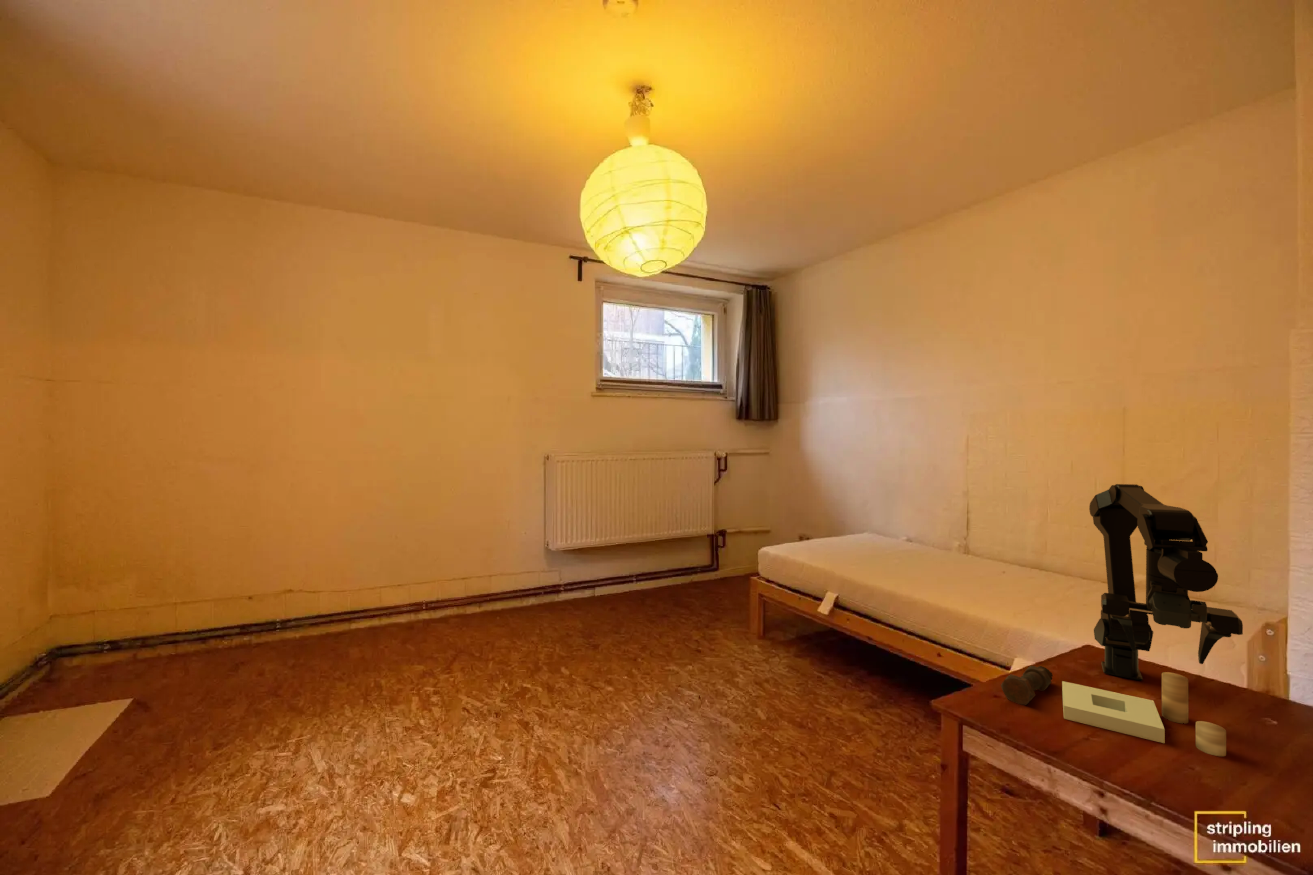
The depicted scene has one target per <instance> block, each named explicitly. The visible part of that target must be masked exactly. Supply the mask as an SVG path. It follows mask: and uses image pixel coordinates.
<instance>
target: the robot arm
mask: <svg viewBox="0 0 1313 875" xmlns="http://www.w3.org/2000/svg"><path fill="white" fill-rule="evenodd" d="M1089 514H1090V516H1091V517H1092V521H1093V522H1092V523H1093V525H1094V526H1095V528H1096V529H1097V530H1098V531H1099V533H1101V534H1102V536H1103V545H1104V546H1103V548H1104V556H1105V557H1104V558H1105V568H1106V569H1105V570H1106V582H1107V592H1104V593H1102V594H1101V596H1100V606H1101V609H1100V618H1099V619H1098V620H1097V622H1096V625H1095V626H1094V628H1093V636H1094V637H1093V638H1094V640H1096V641H1097V643H1098V644H1100V646H1102V647H1104V661H1102V660H1101V668H1102V671H1103V674H1106V675H1110V676H1115V677H1121V678H1126V679H1131V680H1136V681H1143V680H1144V678H1143V676H1142V673H1141V671H1140V669H1139V651H1145V652H1150V650H1151V647H1152V642H1153V637H1154V631H1153V630H1152V626H1151V625H1150V623H1149V621H1150V620H1149V615H1152V619H1153V621H1154V623H1156V624H1158V625H1162V626H1174V627H1179V628H1181V629H1190V628H1191V627H1192V622H1195V623H1199V624H1200V623H1201V626H1200V635H1199V643H1198V650H1197V651H1198V652H1197V654H1198V655H1197V656H1198V663H1199V664H1200V665H1203V664H1204V663H1205V661H1206V659H1207V657H1208V656H1209V653H1210V652H1211V650H1212V649H1213V647H1214V645H1215V644H1216V643H1217V642H1218V641H1219V640H1221V639H1223V638H1231V637H1232V635H1238V636H1240V635H1244V634H1243V630H1244V629H1243V628H1244V625H1243V621H1242V619H1241V618H1240V617H1239V616H1238V614H1237V613H1235V612H1234V611H1233V610H1232V609H1225V608H1217V607H1211V606H1210V607H1209V606H1208V605H1207V602H1206V601H1202V600H1194V599H1190V597H1189V592H1195V593H1202V592H1203V593H1204V592H1206V591H1209V590H1211V589H1213V587H1215V586H1216V584H1217V582H1218V581H1219V580H1218V579H1219V574H1218V572H1217V570H1216V568H1215V567H1214V566H1213V565H1212V563H1210V562H1208V561H1206V560H1204V559H1203V556H1204V555H1203V552H1208V547H1207V544H1209V543H1208V542H1209V541H1208V539H1207V537H1206V535H1205V533H1204V530H1203V529H1202V527H1201V525H1200V523H1199V520H1198V518H1197V517H1196V516H1194V514H1193V513H1192V512H1191V511H1190V510H1188V509H1185V508H1183V507H1179V506H1171V505H1167V504H1163V502H1161V501H1159V499H1157V498H1155V497H1154V496H1153V495H1152V494H1150V493H1148V492H1147V491H1146V490H1145V488H1144V487H1143V486H1142V485H1139V484H1136V483H1135V484H1133V483H1132V484H1130V483H1128V484H1127V483H1126V484H1124V483H1115V484H1113V485H1110V487H1109V488H1108V489H1107V490H1104V491H1101V492H1100V493H1097V494H1095V495H1094V496H1093V498H1092V499H1091V501H1090V503H1089ZM1136 529H1138V531H1139V533H1140V535H1141V537H1142V539H1143V540H1144V541H1143V543H1144V546H1146V549H1145V553H1146V554H1145V602H1144V603H1143V602H1138V601H1137V598H1136V597H1137V596H1136V585H1135V574H1134V564H1133V556H1132V555H1133V554H1132V542H1131V536H1132V534H1133V533H1134V532H1135V531H1136Z"/></svg>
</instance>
